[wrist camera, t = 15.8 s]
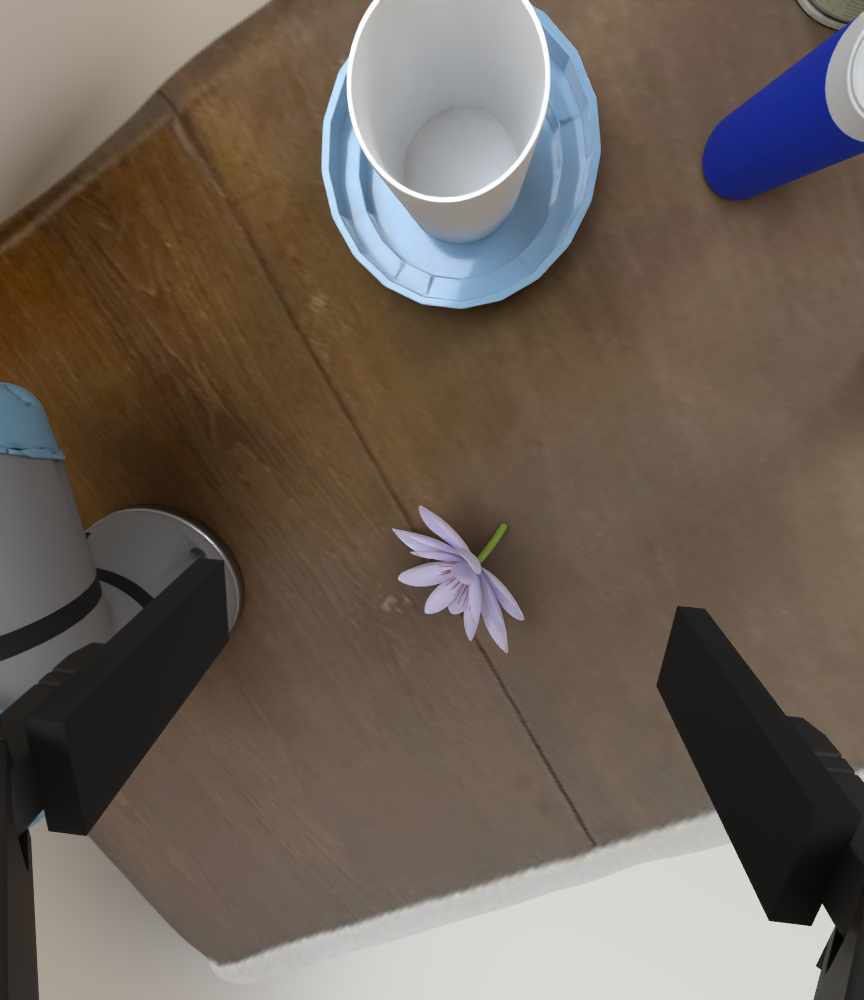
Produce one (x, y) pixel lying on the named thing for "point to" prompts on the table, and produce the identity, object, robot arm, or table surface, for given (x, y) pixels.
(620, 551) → the table surface
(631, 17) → the table surface
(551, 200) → the bowl
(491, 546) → the water lily
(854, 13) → the coffee can
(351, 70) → the cup
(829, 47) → the beverage can
